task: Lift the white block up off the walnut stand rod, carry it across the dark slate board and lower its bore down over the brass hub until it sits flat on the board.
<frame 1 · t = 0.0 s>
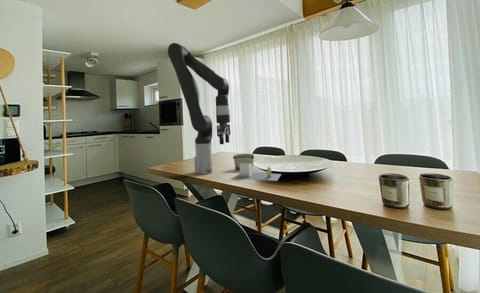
hand: (224, 143, 133), 17 cm above the table, tool pointing down, fingers open, 8 cm apart
board: (257, 179, 120), on the table
food container: (244, 171, 140), on the table
white block: (246, 175, 122), point 1 cm above the table, touching board
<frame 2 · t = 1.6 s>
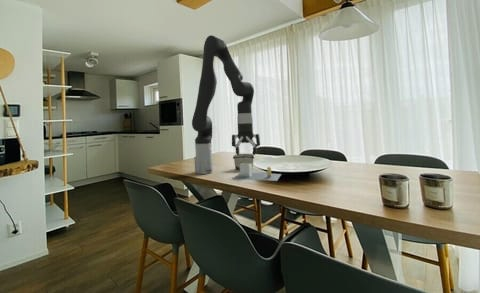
hand: (246, 154, 121), 12 cm above the table, tool pointing down, fingers open, 8 cm apart
nothing on the table moved.
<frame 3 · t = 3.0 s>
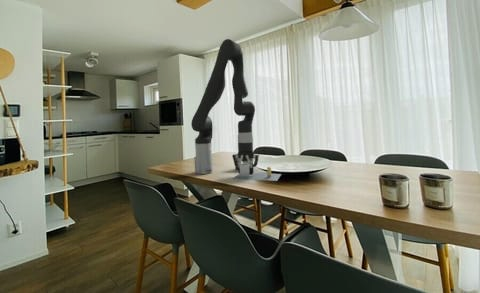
hand: (246, 174, 121), 2 cm above the table, tool pointing down, fingers closed on white block, 5 cm apart
white block: (246, 175, 122), point 2 cm above the table, touching board, gripper
everything else where it was.
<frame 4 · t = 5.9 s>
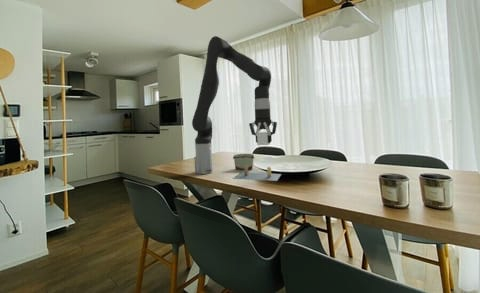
hand: (263, 143, 117), 18 cm above the table, tool pointing down, fingers closed on white block, 5 cm apart
white block: (263, 144, 117), point 18 cm above the table, touching gripper
everything else where it was.
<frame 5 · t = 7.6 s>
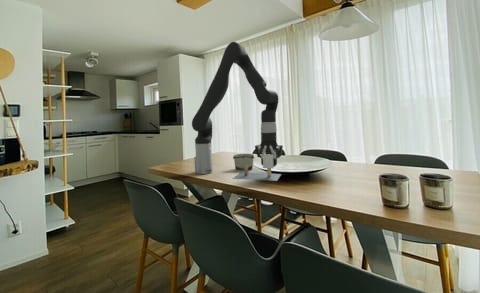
hand: (269, 165, 117), 7 cm above the table, tool pointing down, fingers closed on white block, 5 cm apart
white block: (269, 167, 117), point 6 cm above the table, touching gripper
everything else where it was.
when the fingers open (3 cm above the table, at t = 8.9 s): white block stays where it is, resting on board.
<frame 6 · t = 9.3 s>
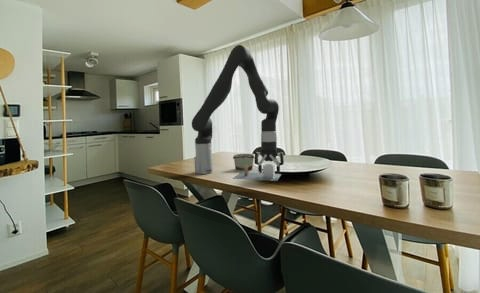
hand: (269, 173, 118), 3 cm above the table, tool pointing down, fingers open, 8 cm apart
white block: (269, 176, 118), point 1 cm above the table, touching board
everything else where it was.
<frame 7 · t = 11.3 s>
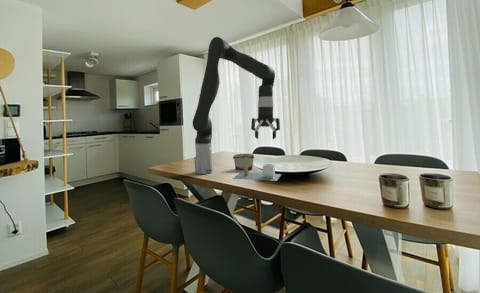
hand: (265, 138, 120), 20 cm above the table, tool pointing down, fingers open, 8 cm apart
nothing on the table moved.
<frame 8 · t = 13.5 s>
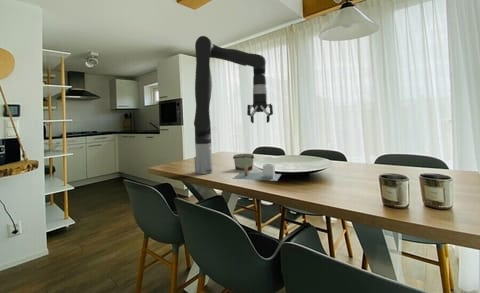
hand: (260, 122, 134), 28 cm above the table, tool pointing down, fingers open, 8 cm apart
nothing on the table moved.
at the end: white block 0.1 cm from the target spot on the board, point 1.5 cm above the board's base; white block tilted 0°; the gripper is holding nothing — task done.
